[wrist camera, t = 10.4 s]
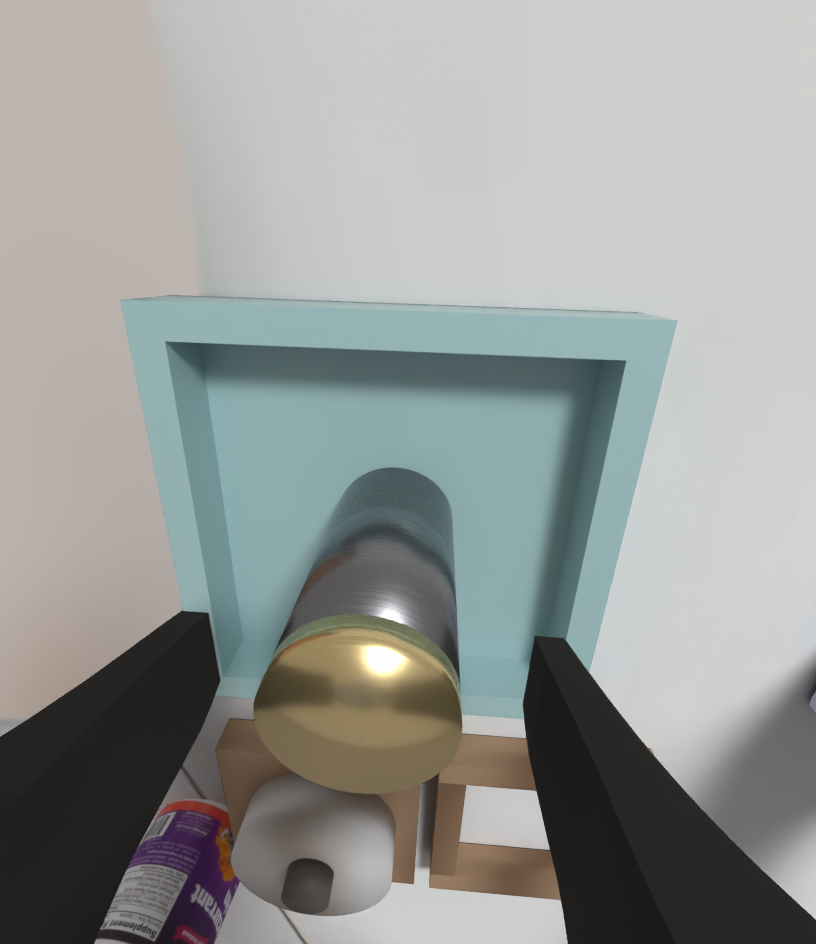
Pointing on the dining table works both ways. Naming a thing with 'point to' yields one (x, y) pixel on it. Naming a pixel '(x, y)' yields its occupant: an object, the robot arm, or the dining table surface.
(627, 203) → the dining table surface
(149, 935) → the pill bottle
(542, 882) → the block
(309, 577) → the tin can
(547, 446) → the tray
